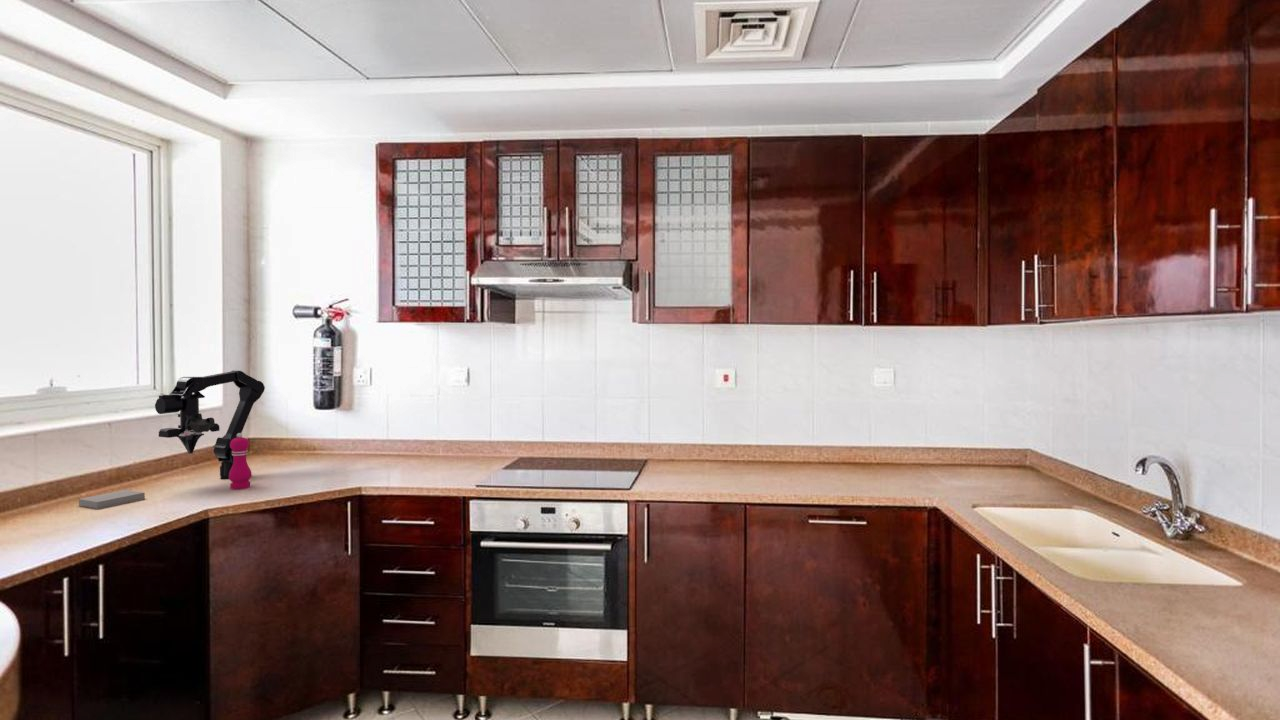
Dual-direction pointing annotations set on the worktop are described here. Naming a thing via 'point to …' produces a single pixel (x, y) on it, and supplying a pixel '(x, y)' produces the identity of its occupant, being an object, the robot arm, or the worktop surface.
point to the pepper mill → (239, 463)
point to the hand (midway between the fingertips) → (190, 453)
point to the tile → (111, 499)
